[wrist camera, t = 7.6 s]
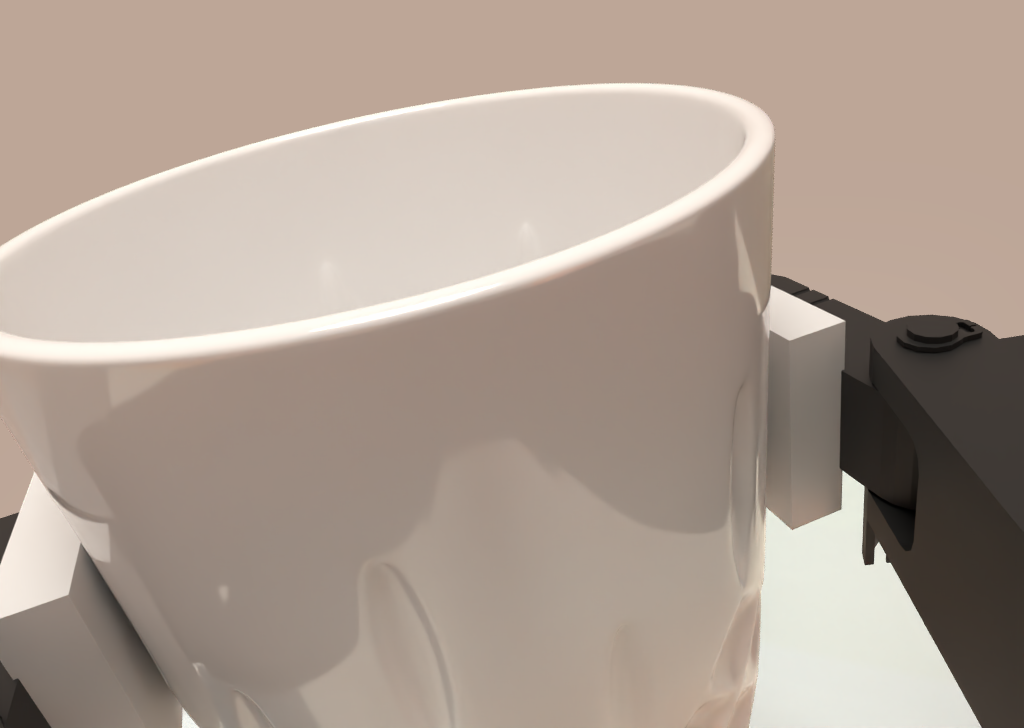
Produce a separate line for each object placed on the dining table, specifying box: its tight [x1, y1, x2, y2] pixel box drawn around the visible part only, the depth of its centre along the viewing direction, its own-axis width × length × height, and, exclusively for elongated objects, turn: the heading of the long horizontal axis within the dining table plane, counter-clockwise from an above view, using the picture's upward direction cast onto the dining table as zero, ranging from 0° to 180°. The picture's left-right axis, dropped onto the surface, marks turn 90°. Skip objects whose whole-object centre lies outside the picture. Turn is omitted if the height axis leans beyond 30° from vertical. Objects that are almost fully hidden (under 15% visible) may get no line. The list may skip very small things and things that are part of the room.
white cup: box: [0, 83, 775, 728], centre depth 10 cm, size 8×8×10 cm
